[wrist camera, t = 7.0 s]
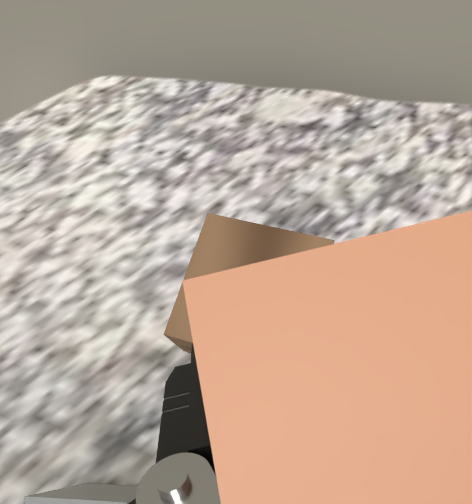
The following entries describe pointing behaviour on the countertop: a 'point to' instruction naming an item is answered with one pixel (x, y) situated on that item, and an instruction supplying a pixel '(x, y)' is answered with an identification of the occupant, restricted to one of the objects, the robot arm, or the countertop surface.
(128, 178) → the countertop surface
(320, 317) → the terracotta block
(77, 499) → the slate block
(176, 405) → the robot arm
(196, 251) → the walnut block
